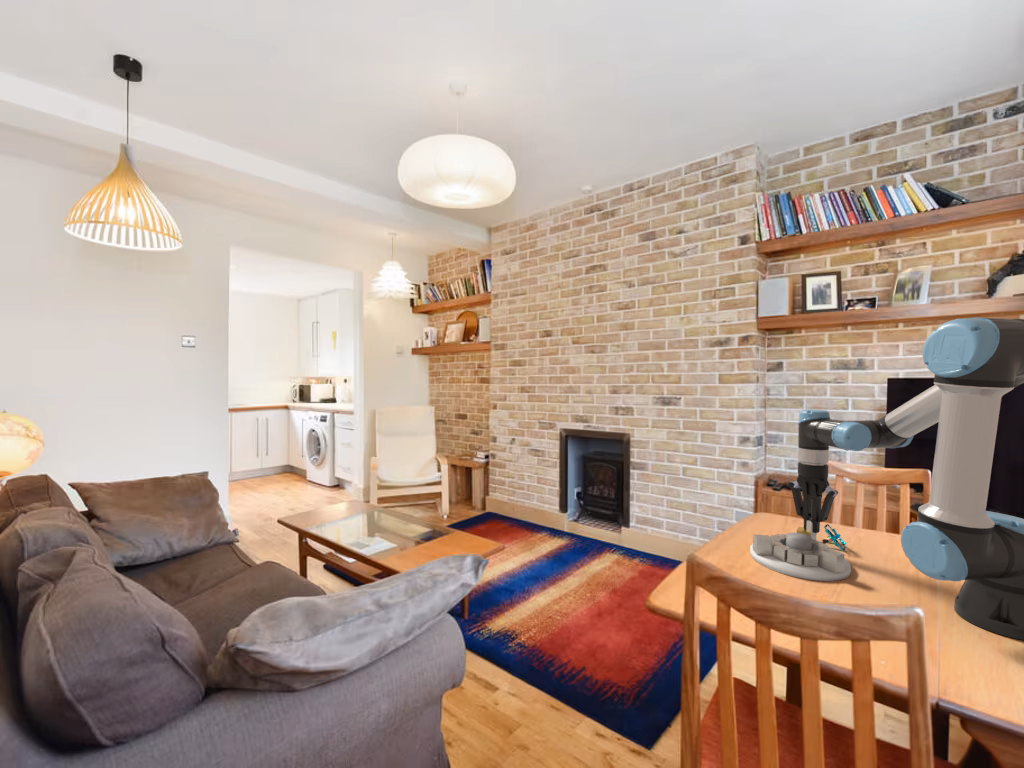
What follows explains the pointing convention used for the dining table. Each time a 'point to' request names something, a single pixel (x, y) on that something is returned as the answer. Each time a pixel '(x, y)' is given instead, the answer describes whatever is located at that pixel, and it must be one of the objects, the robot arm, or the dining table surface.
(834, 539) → the stick construction toy
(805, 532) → the grey segmented ring
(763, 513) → the dining table surface
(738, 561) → the dining table surface
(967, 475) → the robot arm
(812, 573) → the white shallow round piece
